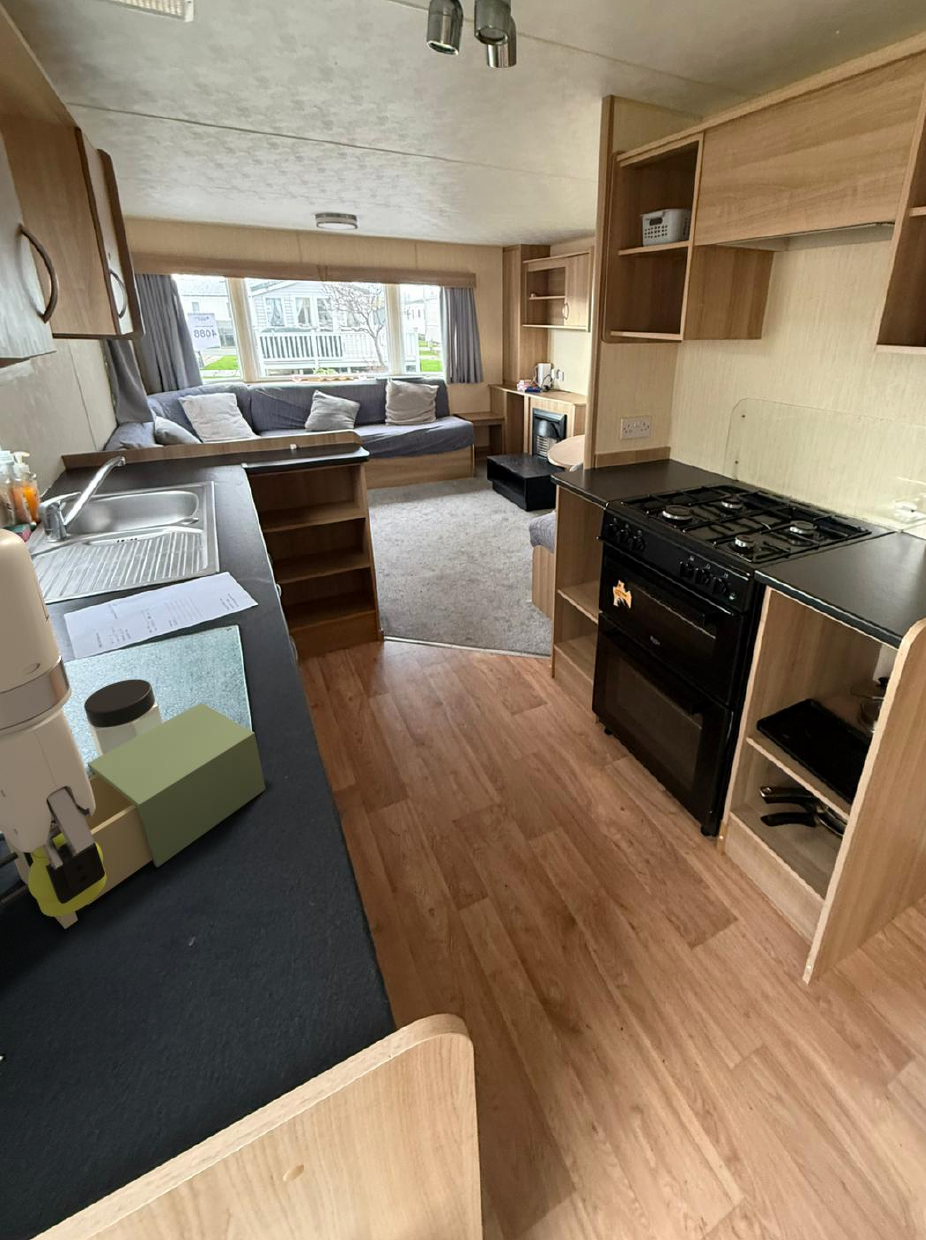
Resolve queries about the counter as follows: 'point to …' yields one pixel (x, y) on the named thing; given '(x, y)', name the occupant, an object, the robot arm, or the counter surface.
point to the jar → (121, 713)
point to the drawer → (100, 843)
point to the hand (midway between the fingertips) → (66, 870)
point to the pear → (44, 889)
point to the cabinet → (184, 776)
